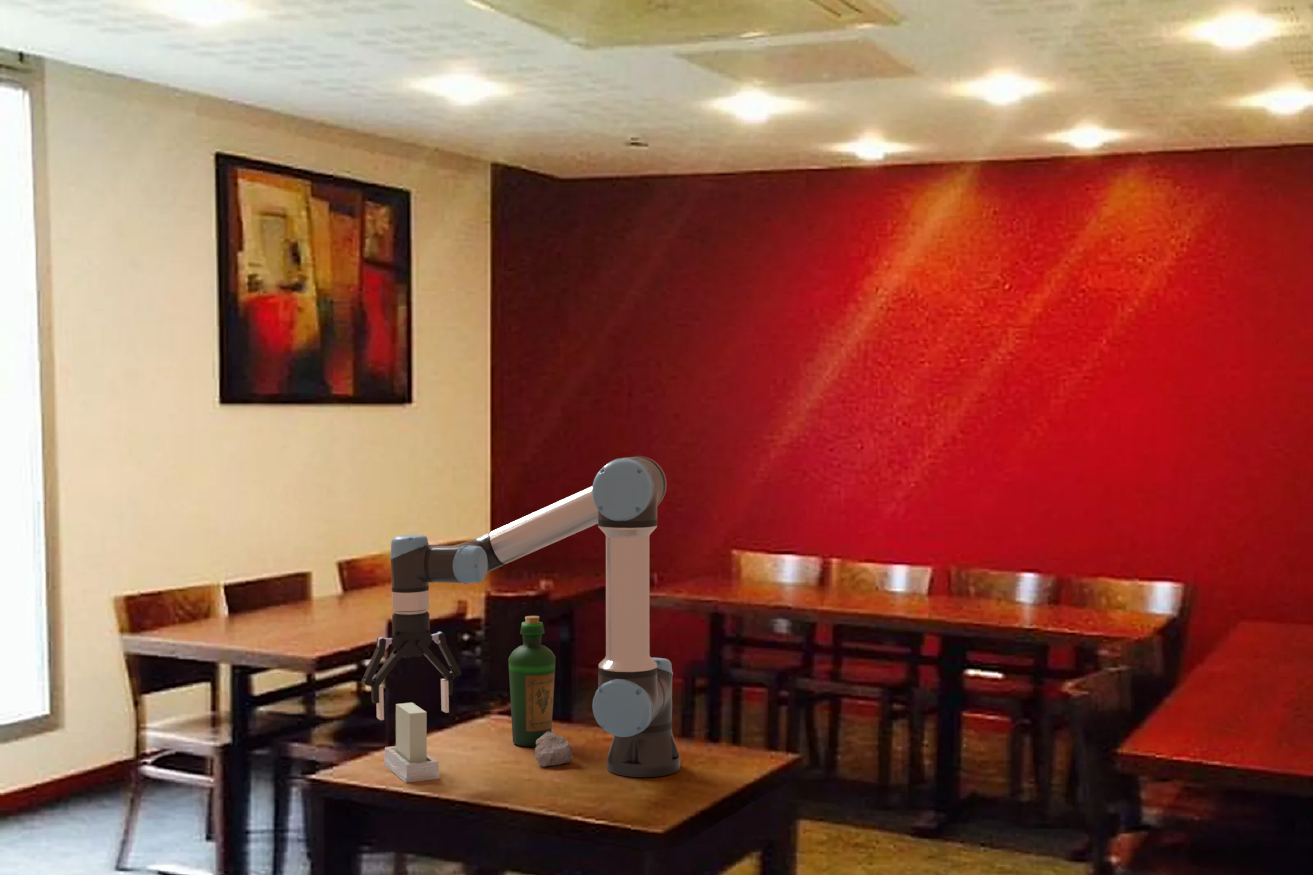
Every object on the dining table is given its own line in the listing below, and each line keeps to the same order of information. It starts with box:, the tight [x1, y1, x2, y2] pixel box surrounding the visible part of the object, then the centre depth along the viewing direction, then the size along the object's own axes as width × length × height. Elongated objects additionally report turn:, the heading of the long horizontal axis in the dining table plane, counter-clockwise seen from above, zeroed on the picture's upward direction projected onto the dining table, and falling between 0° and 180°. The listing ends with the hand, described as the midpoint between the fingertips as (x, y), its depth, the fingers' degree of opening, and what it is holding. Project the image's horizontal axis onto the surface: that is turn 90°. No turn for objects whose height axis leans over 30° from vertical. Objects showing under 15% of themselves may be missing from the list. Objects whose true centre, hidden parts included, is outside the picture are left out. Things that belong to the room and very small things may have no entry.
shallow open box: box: [383, 745, 440, 784], centre depth 303 cm, size 16×7×4 cm, turn 26°
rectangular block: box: [395, 702, 428, 763], centre depth 303 cm, size 10×4×12 cm, turn 26°
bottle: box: [507, 615, 557, 748], centre depth 327 cm, size 11×11×28 cm
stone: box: [534, 731, 574, 768], centre depth 311 cm, size 10×8×6 cm
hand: (413, 715), depth 303 cm, fingers open, 13 cm apart
